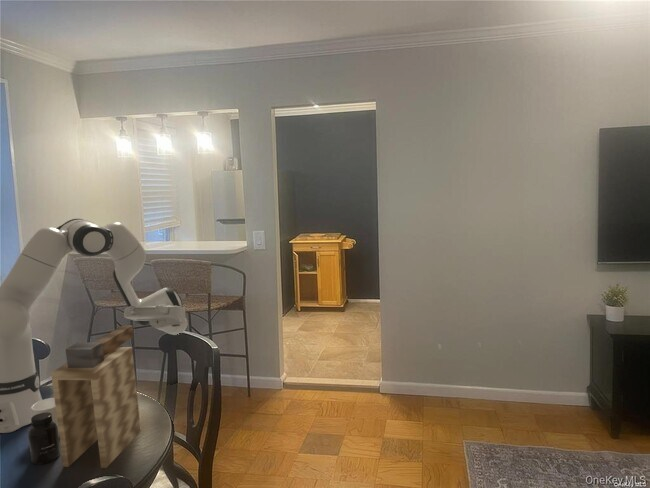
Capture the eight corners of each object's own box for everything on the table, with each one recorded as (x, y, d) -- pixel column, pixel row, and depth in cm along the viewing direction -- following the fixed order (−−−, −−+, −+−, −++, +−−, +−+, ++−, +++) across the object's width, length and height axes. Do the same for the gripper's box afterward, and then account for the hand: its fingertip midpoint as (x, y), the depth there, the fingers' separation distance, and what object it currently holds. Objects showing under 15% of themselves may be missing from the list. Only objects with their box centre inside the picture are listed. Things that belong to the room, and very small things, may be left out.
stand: (102, 429, 141) (93, 346, 137) (140, 430, 140) (132, 346, 136) (63, 466, 123) (51, 372, 119) (106, 468, 122) (95, 372, 118)
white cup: (52, 444, 134) (48, 411, 133) (29, 442, 136) (24, 409, 135) (72, 429, 142) (68, 398, 141) (49, 427, 144) (45, 396, 142)
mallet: (117, 336, 146) (116, 320, 145) (139, 336, 145) (137, 320, 144) (67, 367, 122) (65, 349, 121) (93, 367, 121) (90, 349, 121)
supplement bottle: (48, 466, 124) (42, 423, 122) (25, 464, 125) (19, 422, 123) (66, 451, 130) (61, 410, 129) (44, 449, 132) (39, 409, 130)
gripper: (136, 309, 173) (116, 299, 161) (189, 307, 171) (174, 298, 158) (133, 326, 171) (113, 317, 158) (187, 325, 169) (171, 316, 156)
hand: (144, 308), depth 158 cm, fingers open, 8 cm apart
